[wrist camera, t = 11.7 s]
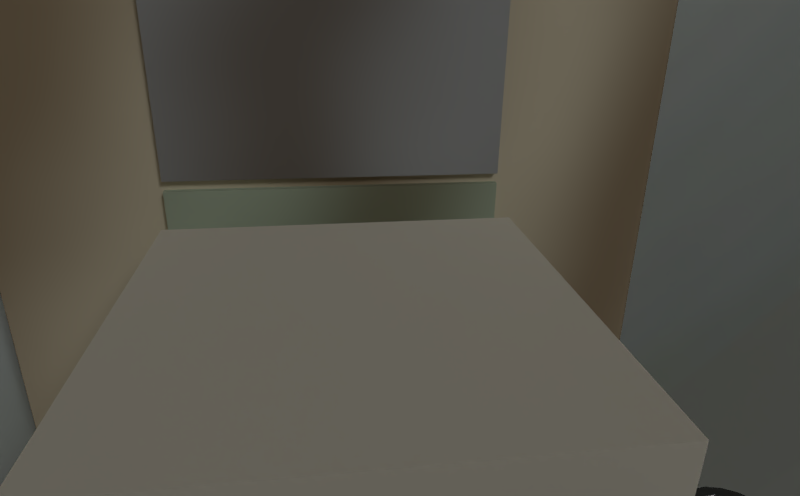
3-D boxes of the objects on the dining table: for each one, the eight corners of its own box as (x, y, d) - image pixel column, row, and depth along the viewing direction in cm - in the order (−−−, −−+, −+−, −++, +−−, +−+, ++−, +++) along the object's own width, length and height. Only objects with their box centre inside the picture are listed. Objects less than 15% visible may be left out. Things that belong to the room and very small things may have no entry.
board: (682, -201, 11) (721, -222, 10) (559, 585, 19) (573, 620, 18) (-105, -249, 9) (-157, -279, 8) (112, 638, 17) (99, 680, 16)
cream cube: (509, 217, 11) (709, 440, 5) (487, 478, 13) (613, 819, 8) (160, 230, 10) (-12, 504, 5) (201, 504, 12) (117, 905, 7)
